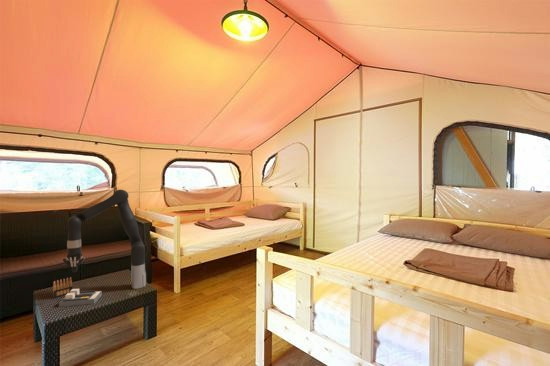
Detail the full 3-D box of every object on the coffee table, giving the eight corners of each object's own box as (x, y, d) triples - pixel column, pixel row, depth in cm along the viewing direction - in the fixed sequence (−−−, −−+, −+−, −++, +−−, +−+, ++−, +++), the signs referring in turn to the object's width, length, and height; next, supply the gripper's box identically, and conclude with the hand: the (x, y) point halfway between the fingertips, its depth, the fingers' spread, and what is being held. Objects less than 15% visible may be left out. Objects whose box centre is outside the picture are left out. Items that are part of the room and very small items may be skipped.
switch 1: (75, 297, 171) (74, 292, 171) (72, 299, 169) (72, 294, 168) (68, 298, 171) (67, 293, 170) (65, 300, 168) (65, 295, 167)
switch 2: (79, 293, 177) (79, 288, 177) (77, 295, 174) (77, 290, 174) (72, 293, 176) (72, 289, 176) (70, 295, 173) (70, 291, 173)
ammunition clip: (53, 298, 176) (52, 281, 176) (52, 297, 177) (52, 280, 177) (72, 293, 184) (72, 276, 184) (72, 292, 185) (71, 275, 185)
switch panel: (101, 295, 182) (101, 289, 182) (94, 303, 170) (94, 297, 170) (69, 297, 177) (68, 292, 177) (58, 306, 166) (58, 300, 165)
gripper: (88, 244, 178) (88, 269, 179) (66, 244, 175) (66, 270, 176) (82, 247, 171) (82, 273, 171) (59, 248, 168) (59, 274, 168)
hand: (74, 271), depth 174 cm, fingers closed
